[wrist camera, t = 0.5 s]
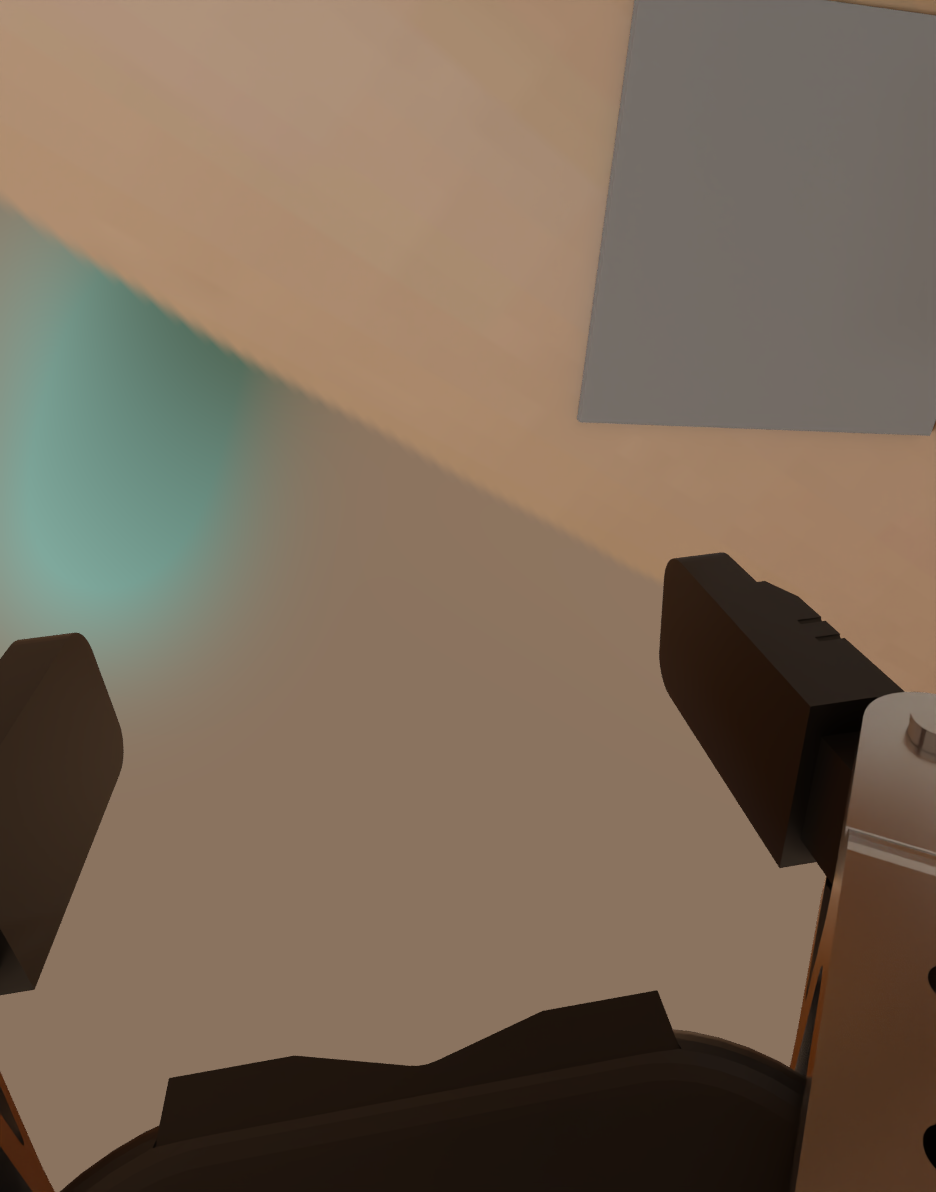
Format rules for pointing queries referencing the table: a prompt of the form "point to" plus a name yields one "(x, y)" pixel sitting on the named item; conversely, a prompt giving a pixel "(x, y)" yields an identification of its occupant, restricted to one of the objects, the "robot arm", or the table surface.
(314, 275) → the table surface
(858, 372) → the mat
